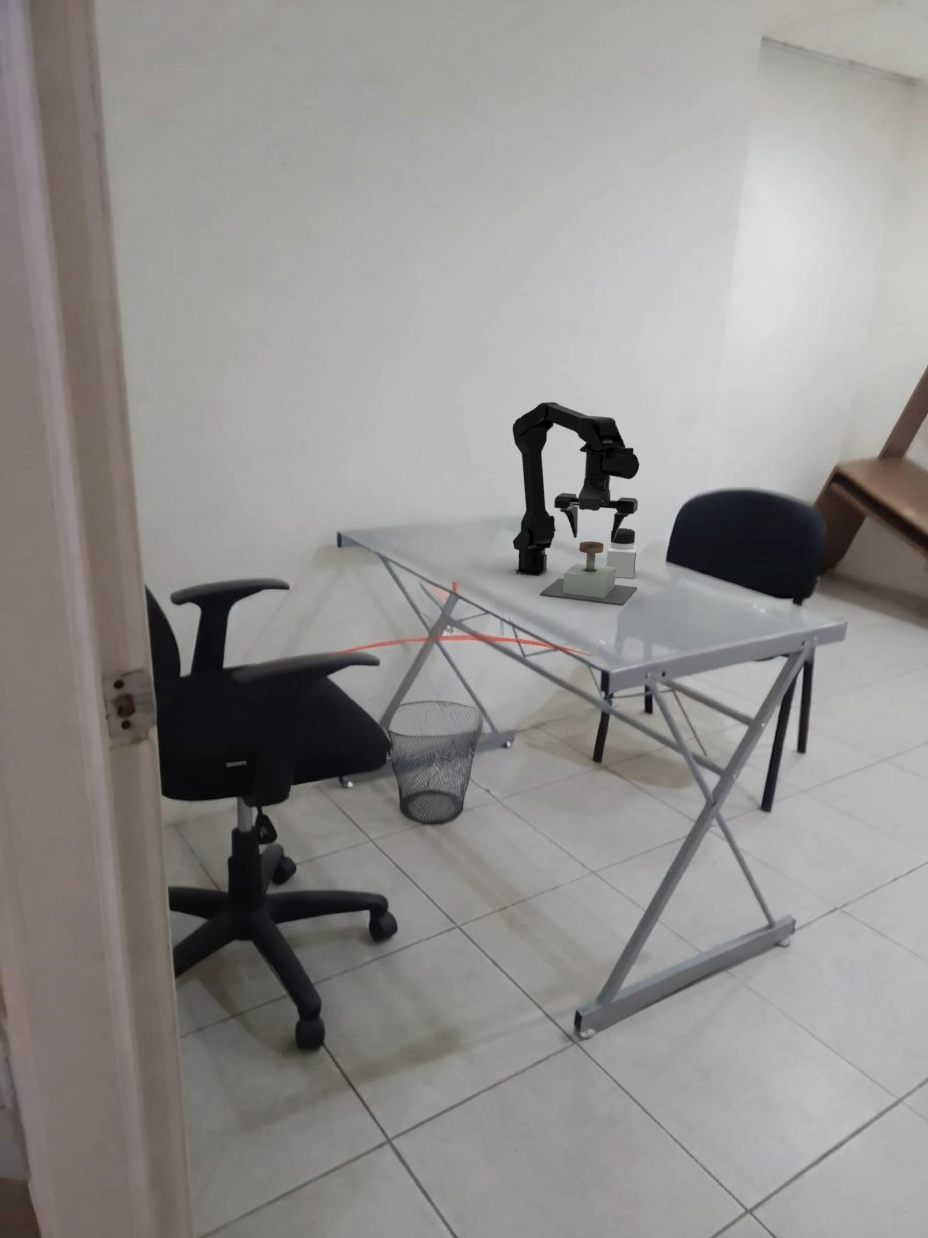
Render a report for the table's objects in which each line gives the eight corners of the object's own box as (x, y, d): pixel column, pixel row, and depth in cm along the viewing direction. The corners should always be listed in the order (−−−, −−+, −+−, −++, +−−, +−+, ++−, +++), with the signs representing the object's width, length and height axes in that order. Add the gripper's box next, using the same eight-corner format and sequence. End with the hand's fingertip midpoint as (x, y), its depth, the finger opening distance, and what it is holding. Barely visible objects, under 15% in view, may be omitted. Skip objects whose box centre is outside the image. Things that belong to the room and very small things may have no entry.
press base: (539, 595, 205) (540, 573, 203) (558, 580, 218) (559, 558, 216) (622, 605, 197) (624, 582, 196) (637, 589, 211) (638, 567, 209)
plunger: (575, 572, 205) (576, 545, 203) (582, 566, 210) (583, 540, 208) (598, 574, 203) (600, 547, 201) (604, 569, 207) (606, 542, 205)
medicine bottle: (634, 578, 220) (637, 532, 216) (605, 577, 221) (608, 531, 217) (634, 571, 226) (637, 526, 223) (607, 570, 228) (609, 525, 224)
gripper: (549, 475, 195) (546, 542, 200) (631, 481, 189) (626, 550, 194) (561, 468, 205) (559, 533, 210) (640, 473, 199) (635, 540, 204)
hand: (593, 539), depth 204 cm, fingers open, 9 cm apart
